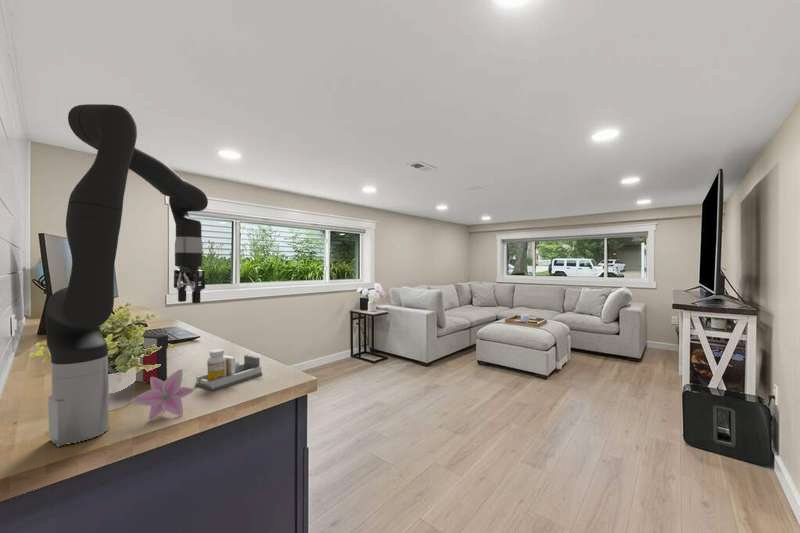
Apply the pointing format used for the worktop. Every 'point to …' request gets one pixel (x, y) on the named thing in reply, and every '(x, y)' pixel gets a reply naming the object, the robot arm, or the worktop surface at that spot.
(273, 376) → the worktop surface
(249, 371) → the pusher lane
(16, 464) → the worktop surface
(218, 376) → the supplement bottle
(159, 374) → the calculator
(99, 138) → the robot arm
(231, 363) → the spring paddle
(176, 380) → the lily
